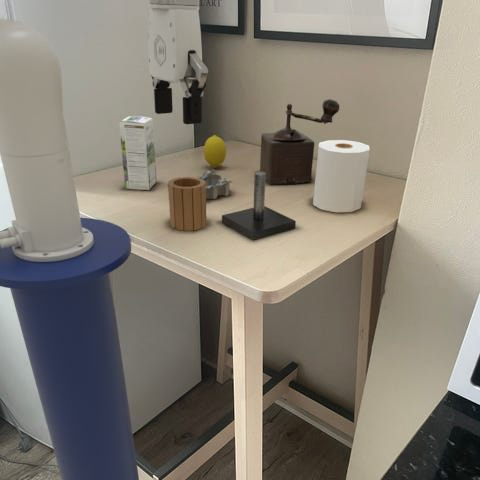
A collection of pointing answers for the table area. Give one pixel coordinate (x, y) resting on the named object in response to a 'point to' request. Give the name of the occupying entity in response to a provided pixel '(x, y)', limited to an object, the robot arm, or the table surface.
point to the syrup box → (138, 152)
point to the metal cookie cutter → (215, 184)
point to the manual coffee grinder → (291, 149)
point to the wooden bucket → (187, 203)
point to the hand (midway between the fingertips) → (177, 118)
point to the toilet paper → (340, 175)
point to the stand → (258, 215)
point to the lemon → (214, 151)
